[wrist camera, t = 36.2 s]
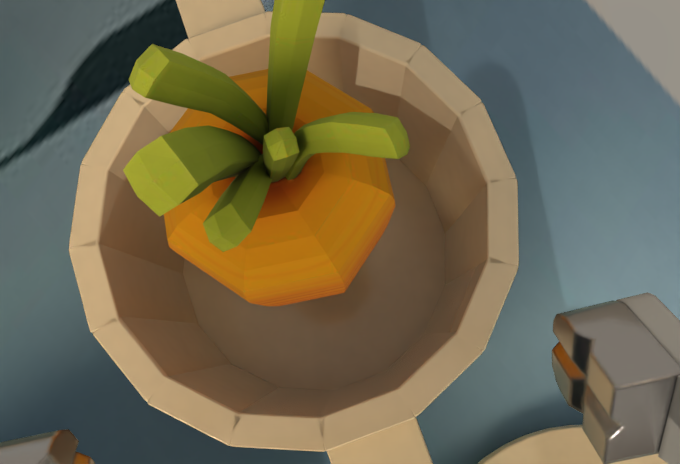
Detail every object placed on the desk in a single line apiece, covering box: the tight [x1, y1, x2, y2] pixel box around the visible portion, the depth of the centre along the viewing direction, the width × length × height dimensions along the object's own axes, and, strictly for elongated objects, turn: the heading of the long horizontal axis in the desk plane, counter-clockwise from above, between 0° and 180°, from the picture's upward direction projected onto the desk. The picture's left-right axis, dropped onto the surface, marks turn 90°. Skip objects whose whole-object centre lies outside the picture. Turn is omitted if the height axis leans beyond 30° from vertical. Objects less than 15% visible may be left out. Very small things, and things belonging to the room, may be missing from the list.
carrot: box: [123, 0, 410, 306], centre depth 14 cm, size 5×5×15 cm
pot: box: [69, 0, 519, 464], centre depth 18 cm, size 12×17×8 cm
